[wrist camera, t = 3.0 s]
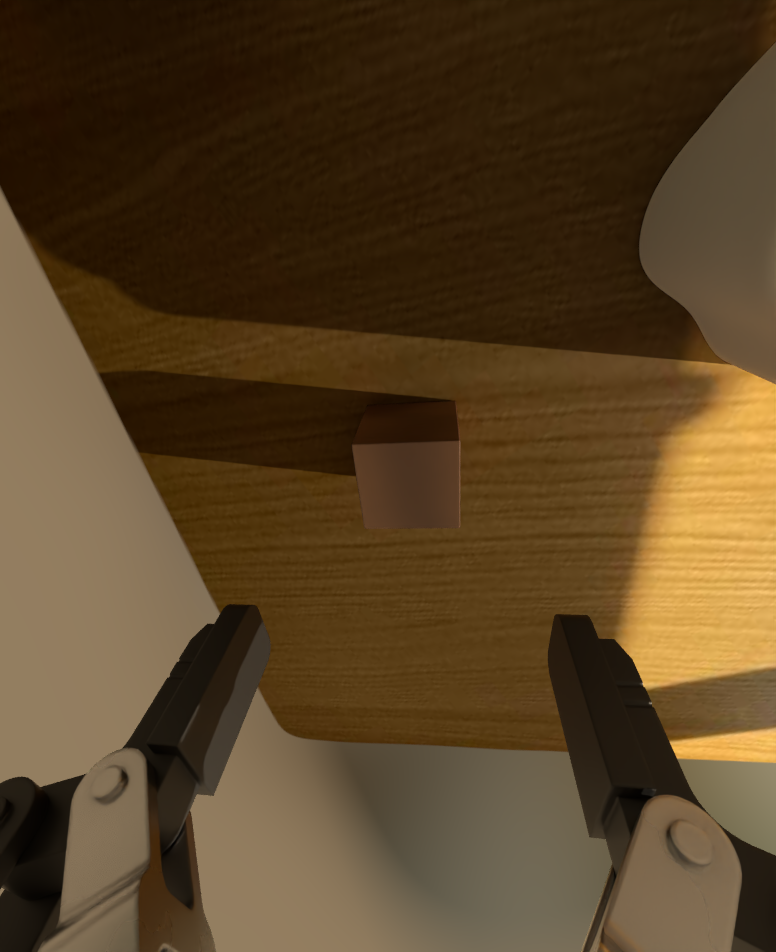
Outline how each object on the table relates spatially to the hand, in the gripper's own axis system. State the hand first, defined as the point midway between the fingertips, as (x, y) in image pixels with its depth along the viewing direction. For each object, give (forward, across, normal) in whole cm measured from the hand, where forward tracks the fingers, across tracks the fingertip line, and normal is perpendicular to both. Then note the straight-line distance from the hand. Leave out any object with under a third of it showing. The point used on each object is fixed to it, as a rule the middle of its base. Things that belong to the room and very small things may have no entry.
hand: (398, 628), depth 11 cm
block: (+12, 0, 0) cm, 12 cm away
